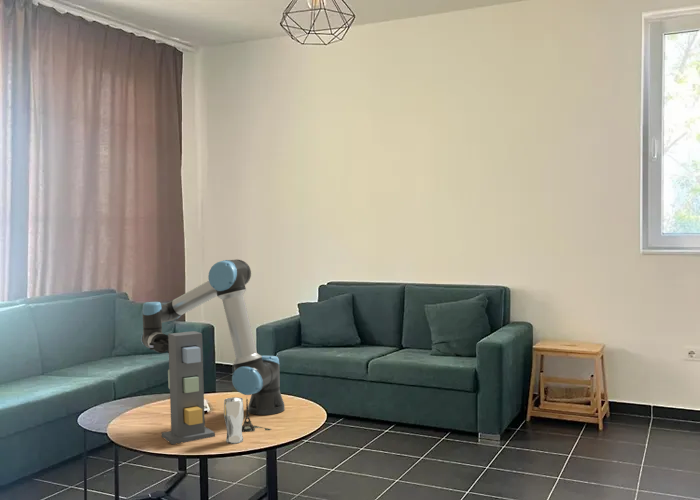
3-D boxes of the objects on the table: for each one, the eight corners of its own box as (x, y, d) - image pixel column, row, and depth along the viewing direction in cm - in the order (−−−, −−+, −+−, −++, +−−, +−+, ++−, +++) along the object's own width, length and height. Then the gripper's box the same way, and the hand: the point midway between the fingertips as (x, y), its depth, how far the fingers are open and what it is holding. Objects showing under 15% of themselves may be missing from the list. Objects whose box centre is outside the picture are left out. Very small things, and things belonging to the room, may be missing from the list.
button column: (161, 436, 251) (158, 333, 250) (203, 429, 260) (200, 329, 259) (171, 444, 241) (168, 337, 240) (214, 436, 250) (211, 333, 249)
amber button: (171, 418, 255) (171, 400, 255) (189, 415, 259) (189, 397, 258) (186, 428, 241) (185, 409, 241) (205, 425, 245) (204, 405, 245)
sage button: (168, 388, 257) (167, 369, 257) (186, 385, 261) (186, 367, 261) (182, 396, 243) (182, 376, 243) (201, 393, 247) (201, 374, 247)
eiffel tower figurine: (272, 430, 257) (271, 395, 257) (253, 437, 249) (252, 401, 249) (245, 425, 266) (244, 391, 266) (225, 431, 258) (224, 396, 258)
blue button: (170, 360, 254) (169, 341, 254) (188, 358, 258) (187, 339, 258) (184, 366, 240) (184, 347, 240) (203, 364, 244) (203, 344, 244)
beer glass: (225, 438, 246) (224, 397, 246) (245, 437, 247) (243, 396, 247) (223, 444, 239) (222, 402, 239) (243, 443, 240) (242, 401, 240)
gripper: (175, 349, 280) (195, 357, 260) (143, 353, 273) (161, 361, 253) (175, 331, 280) (194, 338, 260) (143, 334, 273) (161, 341, 253)
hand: (178, 349), depth 256 cm, fingers closed
